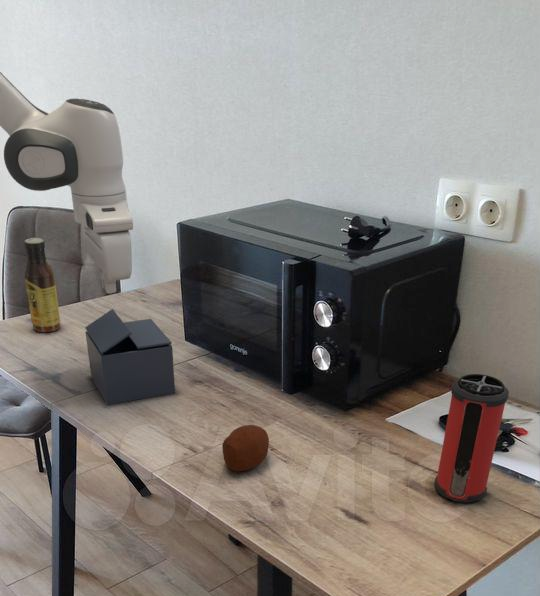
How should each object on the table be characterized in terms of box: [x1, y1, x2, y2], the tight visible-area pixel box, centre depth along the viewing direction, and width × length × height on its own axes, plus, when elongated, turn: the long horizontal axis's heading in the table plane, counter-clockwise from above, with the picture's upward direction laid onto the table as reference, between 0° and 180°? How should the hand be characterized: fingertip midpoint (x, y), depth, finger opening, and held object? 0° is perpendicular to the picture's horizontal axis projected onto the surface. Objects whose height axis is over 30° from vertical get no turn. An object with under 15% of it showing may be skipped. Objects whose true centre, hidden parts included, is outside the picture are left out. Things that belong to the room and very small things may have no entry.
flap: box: [84, 308, 132, 354], centre depth 128 cm, size 6×13×1 cm, turn 25°
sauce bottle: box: [23, 237, 61, 333], centre depth 154 cm, size 7×6×20 cm
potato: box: [221, 424, 270, 472], centre depth 111 cm, size 7×9×6 cm
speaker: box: [434, 373, 510, 504], centre depth 103 cm, size 8×8×18 cm
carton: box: [85, 318, 176, 406], centre depth 133 cm, size 13×13×10 cm
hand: (109, 291), depth 125 cm, fingers closed
